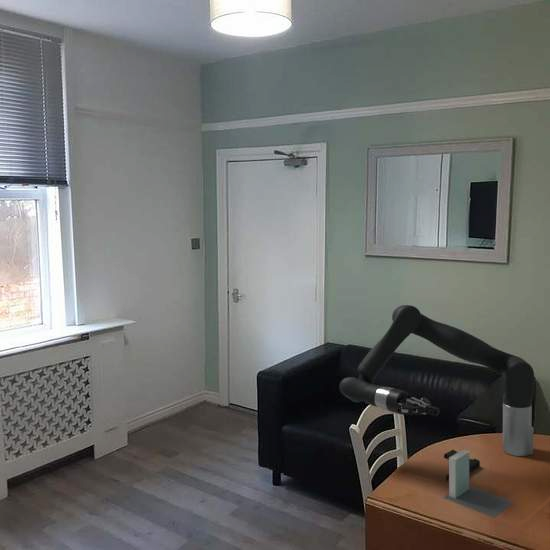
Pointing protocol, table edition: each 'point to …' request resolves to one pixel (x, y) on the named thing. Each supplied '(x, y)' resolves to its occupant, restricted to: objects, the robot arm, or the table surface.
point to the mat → (481, 501)
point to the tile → (458, 473)
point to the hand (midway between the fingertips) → (438, 412)
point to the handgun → (472, 462)
